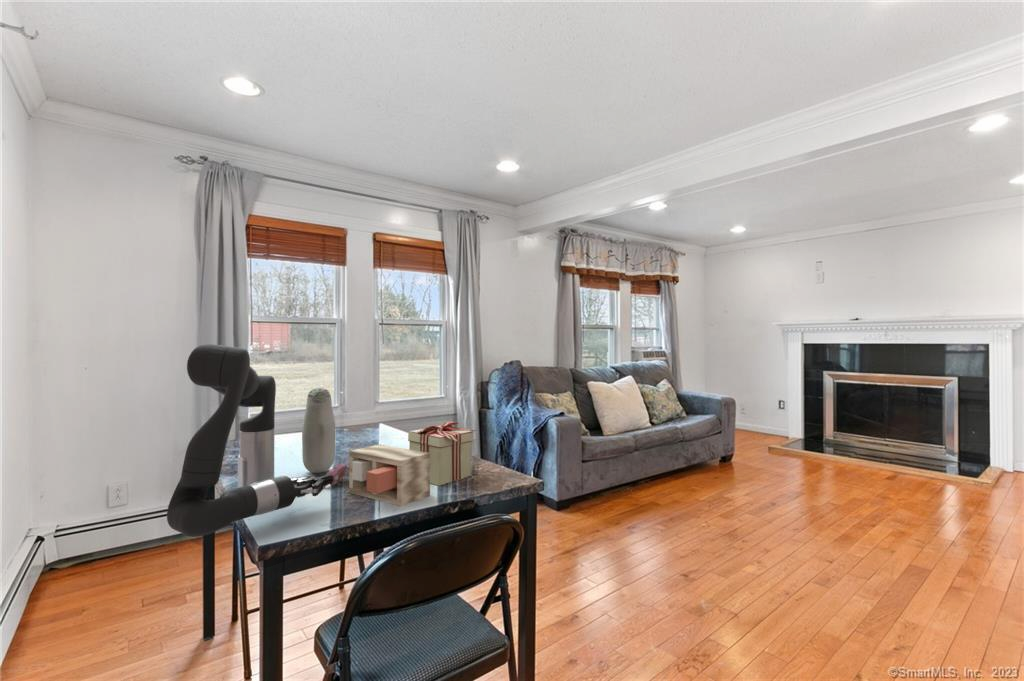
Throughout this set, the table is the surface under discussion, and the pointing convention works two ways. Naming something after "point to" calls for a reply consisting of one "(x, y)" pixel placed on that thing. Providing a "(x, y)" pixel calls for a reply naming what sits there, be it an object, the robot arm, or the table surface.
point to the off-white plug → (361, 469)
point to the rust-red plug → (382, 479)
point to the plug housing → (409, 473)
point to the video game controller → (338, 473)
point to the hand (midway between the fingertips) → (331, 478)
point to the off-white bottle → (318, 432)
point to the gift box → (444, 451)
